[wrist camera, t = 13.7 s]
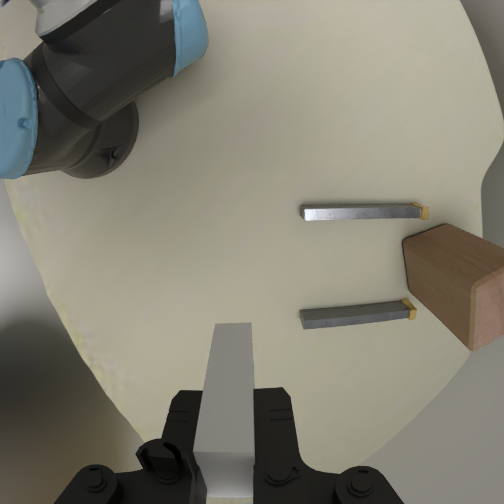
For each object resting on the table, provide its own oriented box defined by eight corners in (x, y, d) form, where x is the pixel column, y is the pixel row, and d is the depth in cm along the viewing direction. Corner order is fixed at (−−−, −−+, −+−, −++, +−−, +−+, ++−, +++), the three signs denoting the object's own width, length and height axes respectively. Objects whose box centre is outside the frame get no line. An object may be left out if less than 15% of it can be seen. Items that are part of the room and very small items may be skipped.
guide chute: (300, 204, 43) (305, 208, 40) (416, 203, 43) (429, 207, 40) (300, 319, 49) (304, 331, 45) (405, 308, 49) (415, 319, 45)
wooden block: (447, 221, 44) (529, 257, 25) (452, 273, 47) (522, 324, 28) (399, 238, 45) (475, 287, 26) (407, 292, 48) (471, 357, 29)
